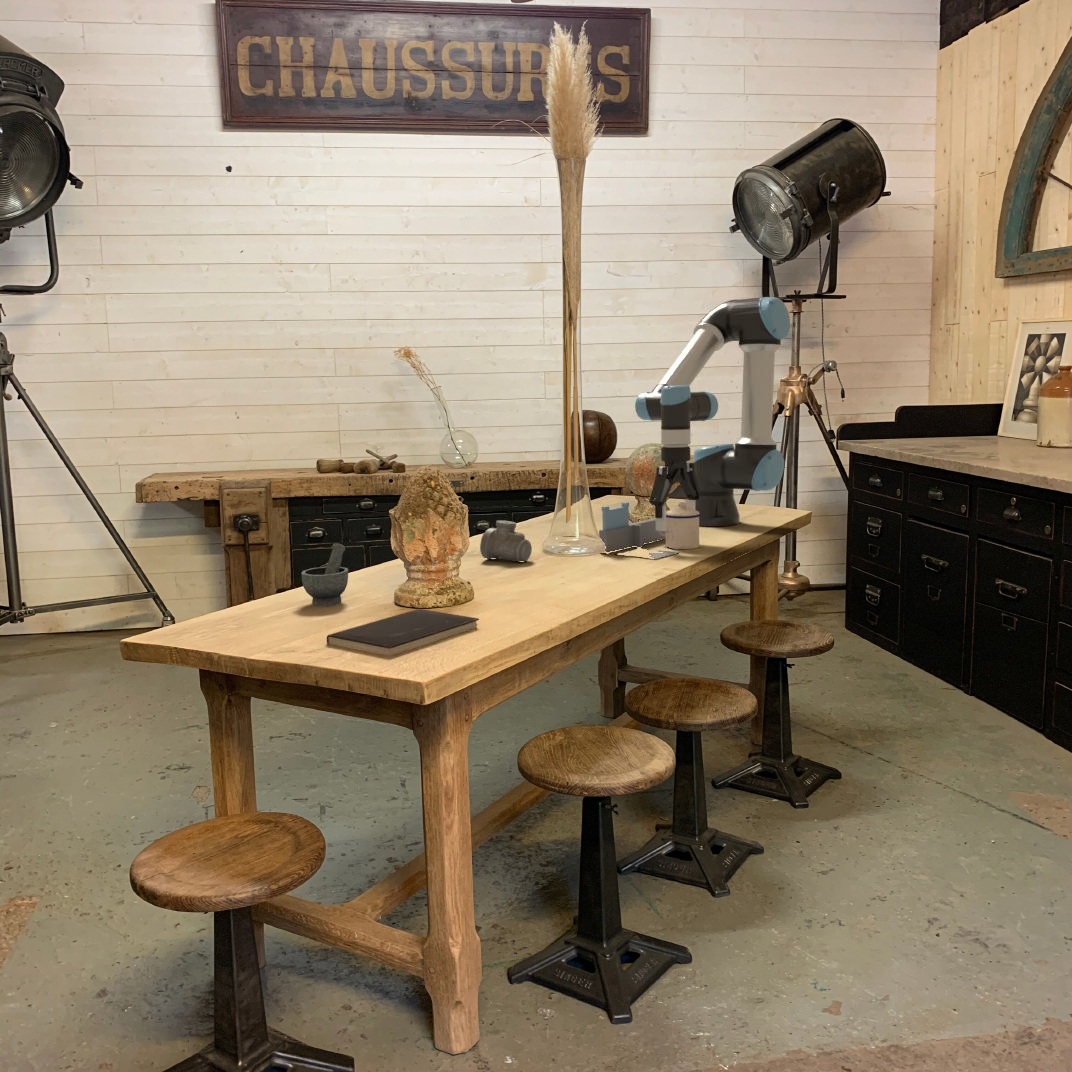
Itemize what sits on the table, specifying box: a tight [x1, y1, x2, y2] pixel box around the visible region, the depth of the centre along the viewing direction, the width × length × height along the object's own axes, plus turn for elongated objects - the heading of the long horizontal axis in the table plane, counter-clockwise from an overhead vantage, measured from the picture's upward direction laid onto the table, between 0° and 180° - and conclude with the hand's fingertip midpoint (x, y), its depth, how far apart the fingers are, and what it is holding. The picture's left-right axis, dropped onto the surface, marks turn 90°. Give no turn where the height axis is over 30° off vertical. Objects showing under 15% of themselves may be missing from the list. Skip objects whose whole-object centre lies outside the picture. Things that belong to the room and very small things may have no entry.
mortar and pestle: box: [300, 543, 349, 608], centre depth 216 cm, size 11×9×12 cm
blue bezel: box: [601, 501, 630, 531], centre depth 265 cm, size 10×1×6 cm, turn 138°
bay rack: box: [598, 517, 680, 560], centre depth 267 cm, size 27×17×6 cm, turn 138°
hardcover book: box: [326, 608, 480, 657], centre depth 188 cm, size 16×23×2 cm
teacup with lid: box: [658, 501, 700, 550], centre depth 269 cm, size 12×9×12 cm
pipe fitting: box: [479, 520, 533, 562], centre depth 257 cm, size 12×8×10 cm
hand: (675, 527), depth 269 cm, fingers open, 13 cm apart
